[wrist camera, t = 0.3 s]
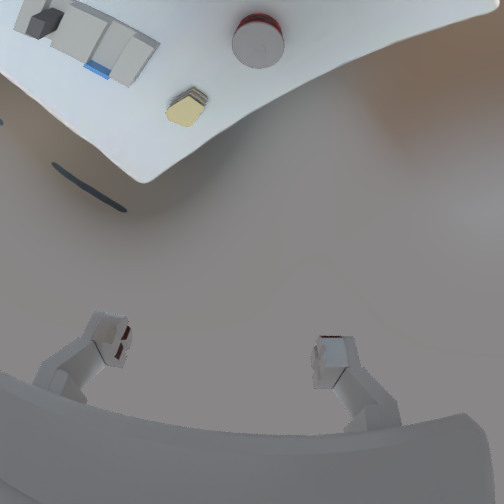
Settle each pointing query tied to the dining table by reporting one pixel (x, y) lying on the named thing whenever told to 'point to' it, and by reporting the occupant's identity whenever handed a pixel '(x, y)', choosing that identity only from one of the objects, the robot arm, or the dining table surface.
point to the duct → (94, 39)
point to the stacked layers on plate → (186, 108)
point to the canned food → (258, 41)
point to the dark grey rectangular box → (44, 23)
